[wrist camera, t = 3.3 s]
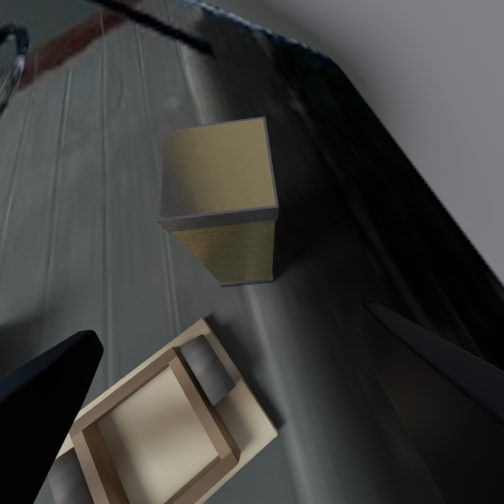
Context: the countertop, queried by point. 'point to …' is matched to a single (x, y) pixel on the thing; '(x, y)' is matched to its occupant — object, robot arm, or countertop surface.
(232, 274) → the tall brass pillar
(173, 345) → the wooden fixture board
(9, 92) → the countertop surface
